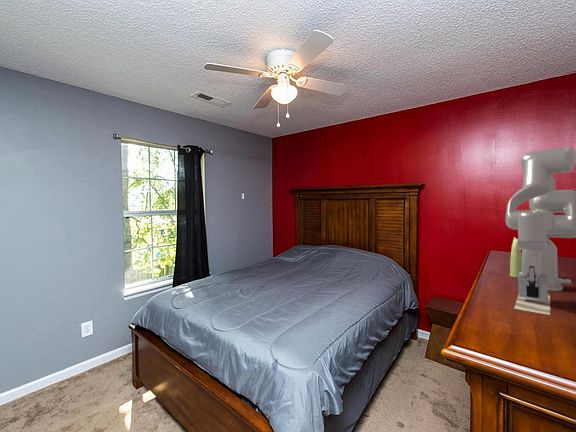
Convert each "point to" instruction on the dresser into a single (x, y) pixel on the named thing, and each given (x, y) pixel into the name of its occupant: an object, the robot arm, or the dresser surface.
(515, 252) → the tube
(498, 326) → the dresser surface
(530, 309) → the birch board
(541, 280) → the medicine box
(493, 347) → the dresser surface
